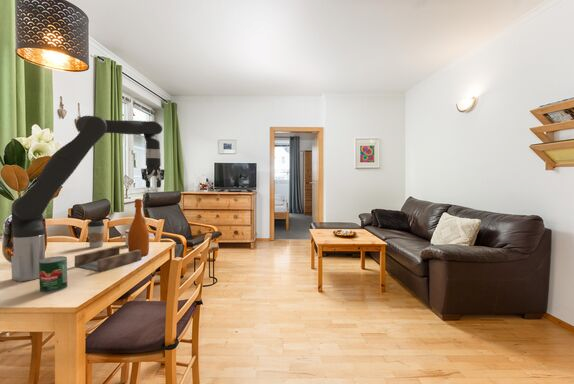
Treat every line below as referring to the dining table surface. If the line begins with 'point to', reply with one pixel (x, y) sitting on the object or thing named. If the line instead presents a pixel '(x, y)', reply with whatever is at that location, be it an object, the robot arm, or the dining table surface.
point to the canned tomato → (53, 274)
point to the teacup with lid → (125, 237)
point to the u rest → (106, 259)
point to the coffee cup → (95, 233)
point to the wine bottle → (138, 232)
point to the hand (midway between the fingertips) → (153, 187)
